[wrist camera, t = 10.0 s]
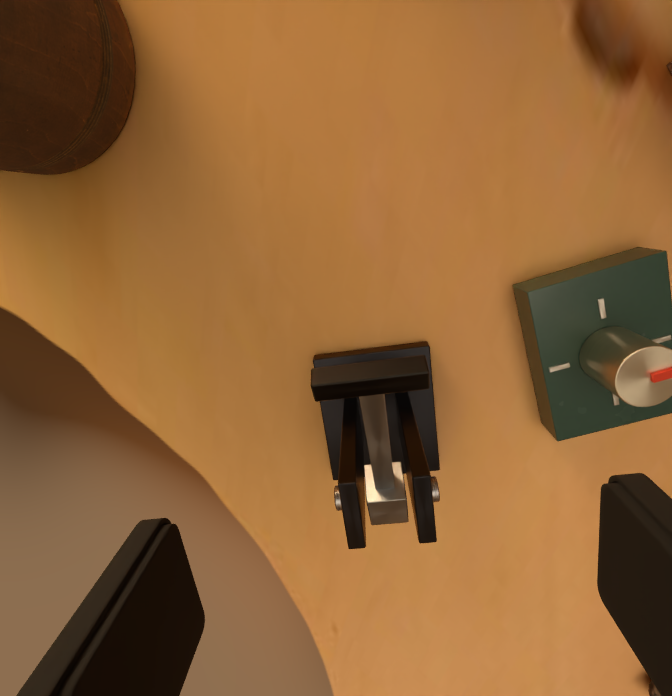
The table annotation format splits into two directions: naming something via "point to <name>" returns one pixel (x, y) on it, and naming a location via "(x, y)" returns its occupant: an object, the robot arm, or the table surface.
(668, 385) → the knob
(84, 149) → the wooden container
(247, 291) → the table surface
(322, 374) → the press lever
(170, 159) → the table surface
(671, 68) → the tissue box cover
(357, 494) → the black lever stand
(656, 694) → the vintage desk clock
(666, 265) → the dial panel
